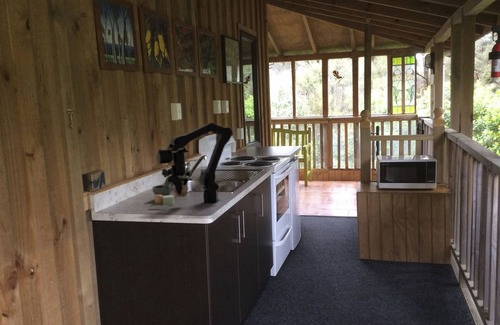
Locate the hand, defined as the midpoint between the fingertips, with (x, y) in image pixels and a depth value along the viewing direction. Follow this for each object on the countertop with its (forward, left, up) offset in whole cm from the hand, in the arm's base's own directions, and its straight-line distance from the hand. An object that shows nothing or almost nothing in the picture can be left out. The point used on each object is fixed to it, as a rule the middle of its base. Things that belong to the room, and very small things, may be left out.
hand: (181, 193), depth 221 cm
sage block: (+9, -5, -6) cm, 12 cm away
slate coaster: (+10, +4, -6) cm, 12 cm away
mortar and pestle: (+16, -15, -6) cm, 23 cm away
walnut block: (0, 0, -1) cm, 1 cm away
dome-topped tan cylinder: (+14, -4, -6) cm, 16 cm away
